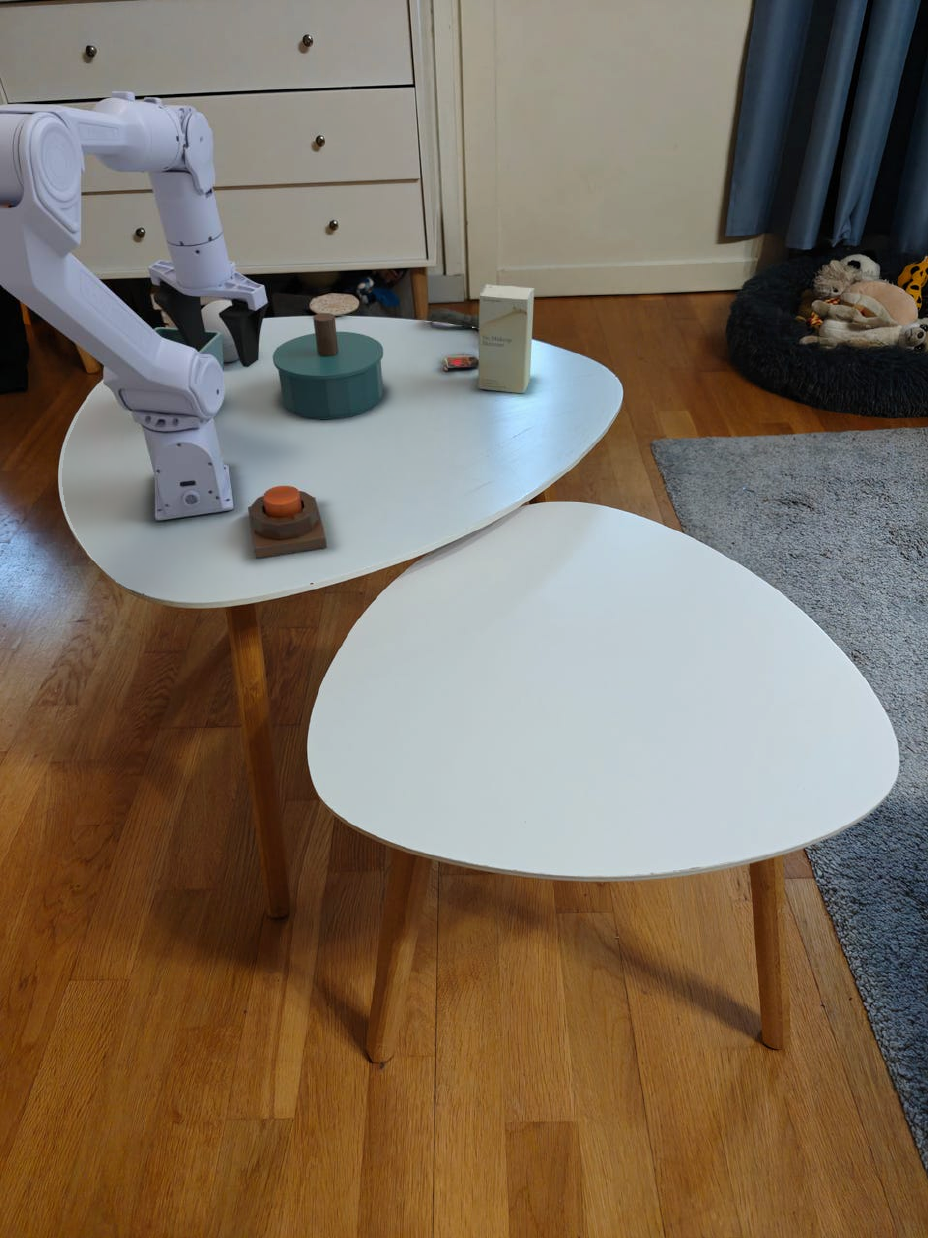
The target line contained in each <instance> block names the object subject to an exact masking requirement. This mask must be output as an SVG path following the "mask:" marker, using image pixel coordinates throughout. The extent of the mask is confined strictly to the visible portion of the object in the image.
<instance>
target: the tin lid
mask: <svg viewBox="0 0 928 1238" xmlns="http://www.w3.org/2000/svg"><path fill="white" fill-rule="evenodd" d="M312 320H313V328H314V333H309V334H305V335H301V336H298V337H295V338H292V339H290V340H288V341H286V342H284V343H282V344H280V345H279V346H278V347H277V348H276V349H275V350H274V352H273V354H272V362H273V365H274V367H275V368H276V369H277V371H278V370H280V371H281V372H283V373H285V374H287V375H290V376H294V377H298V378H305V379H335V378H342V377H347V376H352V375H355V374H359V373H361V372H364V371H366V370H369V369H370V368H372V367H374V366H375V365H377V364H378V363H379V362H380V361H381V362H382V359H383V357H384V348H383V345H382V344H381V343H380V341H378V340H377V339H375V338H373V337H371V336H369V335H366V334H363V333H357V332H351V331H337V326H336V325H337V323H336V316H334V315H333V314H330V313H321V314H317V313H316V314H315V315H314V316H313V318H312Z"/></svg>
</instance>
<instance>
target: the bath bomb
mask: <svg viewBox="0 0 928 1238" xmlns="http://www.w3.org/2000/svg"><path fill="white" fill-rule="evenodd" d="M230 305H231V306H232V302H231V300H227V299H219V300H214V301H211V302H209V303H207V304H206V305H204V307H203V308H201V312H202V318H203V323H204V327H205V330H207V331H219V332H222V348H223V362H226V363H229V362H236V361H237V360H239V357H238V354H237V350H236V347H235V344H234V341H233V338H232V336H231V334H230V332H229V330H228V328H227V327H226V325H225V323H224V322H223V321H222V319H221V318H220V317H219V313H220V312H221V311H223V310H224V309H226V308H227V307H229V306H230Z"/></svg>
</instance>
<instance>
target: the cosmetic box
mask: <svg viewBox="0 0 928 1238" xmlns="http://www.w3.org/2000/svg"><path fill="white" fill-rule="evenodd" d="M534 298H535V288H534V287H526V286H514V285H500V284H499V285H498V284H489V283H486V284H485V286H484V287H483V289H482V290H481V292H480V294H479V303H478V304H479V305H478V307H479V308H478V315H479V329H478V360H479V366H478V375H477V377H478V379H477V380H478V382H477V383H478V385H477V386H478V389H479V390H486V391H487V390H489V391H497V392H506V393H515V394H524V393H525V392H526V390H527V388H528V386H529V384H530V381H531V368H532V367H531V366H532V365H531V364H532V344H533V343H532V342H533V320H534V300H535V299H534Z"/></svg>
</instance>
